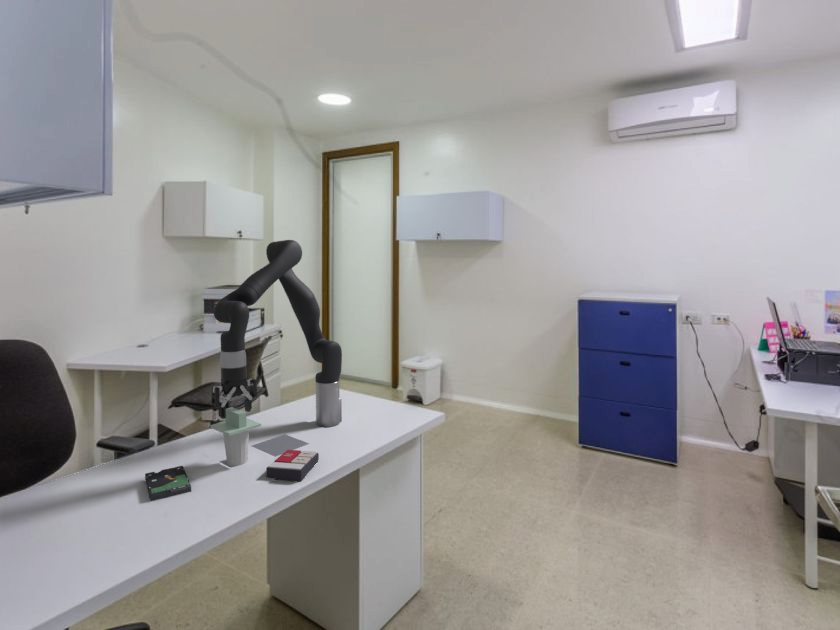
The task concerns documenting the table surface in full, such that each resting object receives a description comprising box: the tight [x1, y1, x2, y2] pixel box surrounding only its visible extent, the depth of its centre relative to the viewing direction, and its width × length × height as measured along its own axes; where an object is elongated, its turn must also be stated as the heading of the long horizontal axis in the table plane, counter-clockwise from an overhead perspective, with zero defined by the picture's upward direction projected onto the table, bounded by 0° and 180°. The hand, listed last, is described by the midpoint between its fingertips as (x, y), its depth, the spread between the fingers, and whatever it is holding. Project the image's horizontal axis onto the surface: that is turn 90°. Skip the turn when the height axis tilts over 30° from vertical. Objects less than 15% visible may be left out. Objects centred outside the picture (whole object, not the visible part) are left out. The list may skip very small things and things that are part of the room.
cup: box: [222, 430, 250, 468], centre depth 154 cm, size 8×8×12 cm
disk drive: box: [144, 465, 192, 502], centre depth 139 cm, size 10×3×15 cm
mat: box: [251, 434, 310, 457], centre depth 168 cm, size 14×14×1 cm
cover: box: [209, 406, 262, 436], centre depth 153 cm, size 11×11×5 cm
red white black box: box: [265, 449, 319, 483], centre depth 150 cm, size 11×4×15 cm
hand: (235, 414), depth 152 cm, fingers open, 8 cm apart
